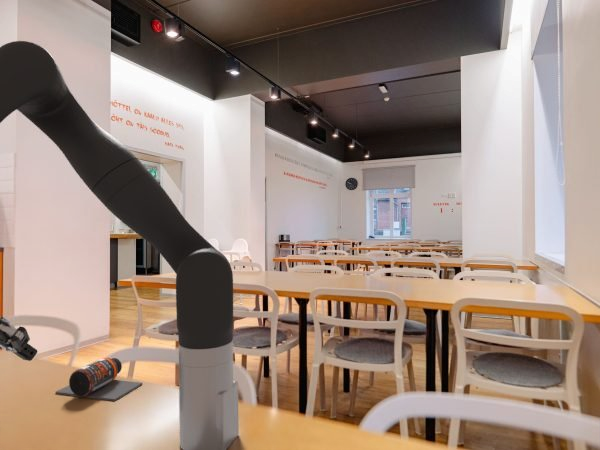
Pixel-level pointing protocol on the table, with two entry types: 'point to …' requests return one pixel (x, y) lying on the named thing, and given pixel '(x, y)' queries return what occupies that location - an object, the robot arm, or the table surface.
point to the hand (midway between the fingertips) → (31, 355)
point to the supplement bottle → (94, 376)
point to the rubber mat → (107, 390)
